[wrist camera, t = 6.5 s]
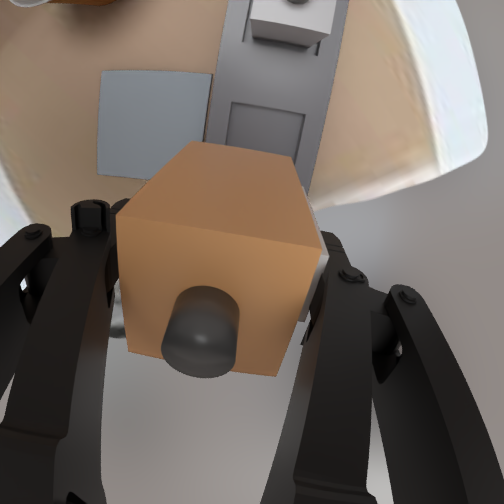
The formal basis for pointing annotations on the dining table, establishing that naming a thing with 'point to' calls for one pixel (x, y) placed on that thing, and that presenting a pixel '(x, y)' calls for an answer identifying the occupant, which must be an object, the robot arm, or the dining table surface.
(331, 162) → the dining table surface
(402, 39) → the dining table surface
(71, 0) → the disposable coffee cup
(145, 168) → the mat
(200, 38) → the dining table surface
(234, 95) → the grey socket base
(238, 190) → the plug
